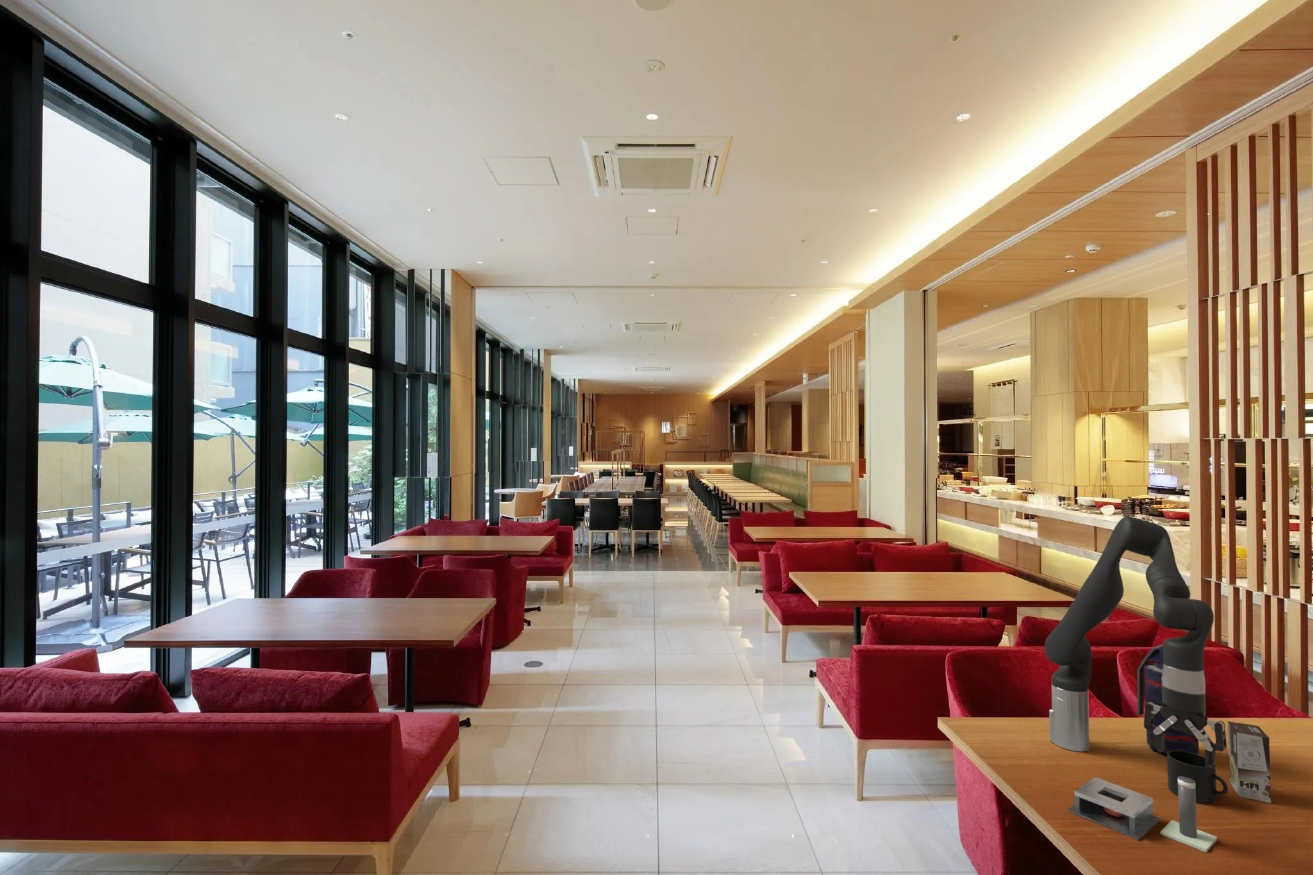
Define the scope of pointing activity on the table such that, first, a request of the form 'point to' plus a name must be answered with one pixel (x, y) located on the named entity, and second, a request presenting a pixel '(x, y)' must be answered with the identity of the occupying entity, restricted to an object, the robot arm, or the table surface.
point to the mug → (1194, 775)
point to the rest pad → (1201, 842)
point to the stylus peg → (1187, 807)
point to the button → (1112, 812)
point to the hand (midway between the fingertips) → (1184, 758)
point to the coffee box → (1249, 761)
